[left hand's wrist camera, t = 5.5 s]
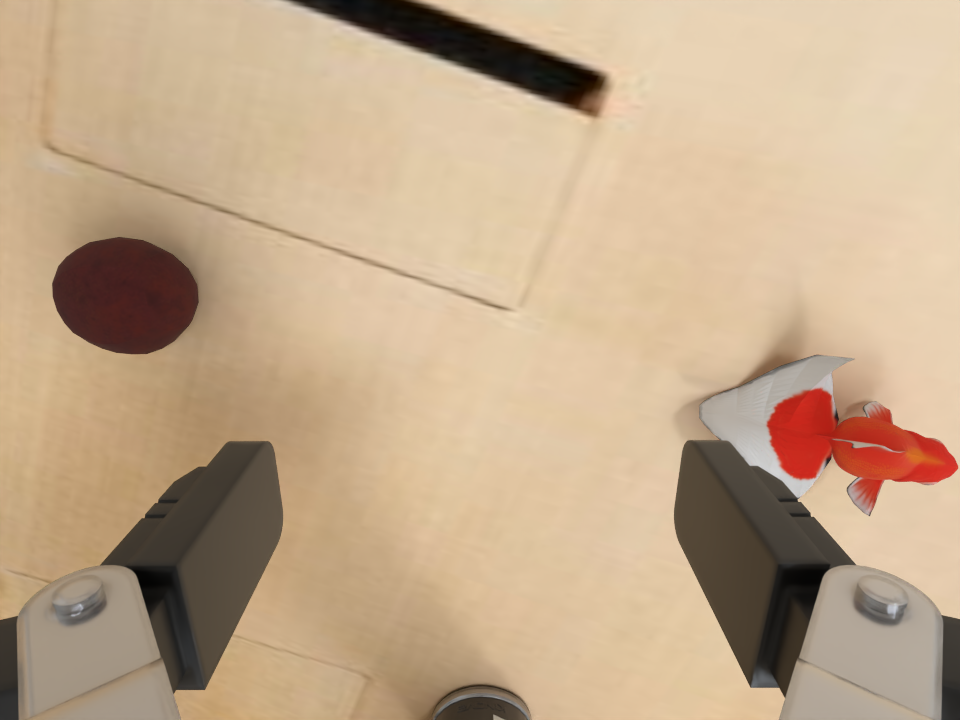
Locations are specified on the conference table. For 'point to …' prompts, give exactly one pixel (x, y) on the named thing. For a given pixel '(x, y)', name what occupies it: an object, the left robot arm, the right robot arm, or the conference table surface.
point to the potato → (125, 295)
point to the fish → (820, 433)
